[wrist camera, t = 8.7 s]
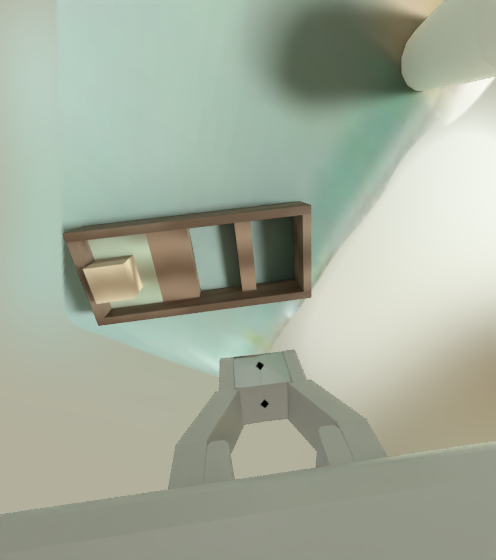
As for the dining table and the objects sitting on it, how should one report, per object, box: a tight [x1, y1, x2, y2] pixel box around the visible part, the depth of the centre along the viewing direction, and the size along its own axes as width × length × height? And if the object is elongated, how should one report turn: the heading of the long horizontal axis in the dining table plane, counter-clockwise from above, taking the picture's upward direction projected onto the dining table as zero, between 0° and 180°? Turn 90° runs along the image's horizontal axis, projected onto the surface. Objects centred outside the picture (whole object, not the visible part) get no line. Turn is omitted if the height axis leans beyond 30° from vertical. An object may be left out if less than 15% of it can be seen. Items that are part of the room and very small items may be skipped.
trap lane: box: [63, 201, 311, 326], centre depth 33 cm, size 12×28×4 cm, turn 95°
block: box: [83, 255, 143, 304], centre depth 31 cm, size 4×4×4 cm
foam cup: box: [401, 0, 496, 91], centre depth 22 cm, size 10×9×13 cm
